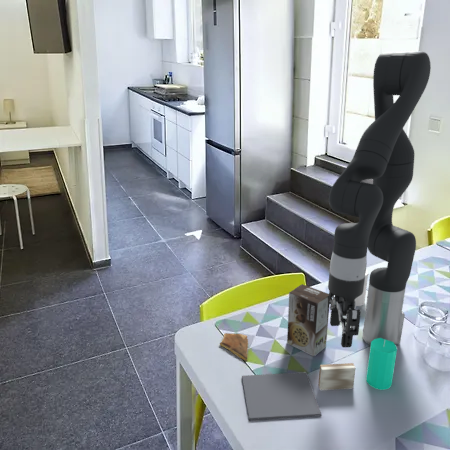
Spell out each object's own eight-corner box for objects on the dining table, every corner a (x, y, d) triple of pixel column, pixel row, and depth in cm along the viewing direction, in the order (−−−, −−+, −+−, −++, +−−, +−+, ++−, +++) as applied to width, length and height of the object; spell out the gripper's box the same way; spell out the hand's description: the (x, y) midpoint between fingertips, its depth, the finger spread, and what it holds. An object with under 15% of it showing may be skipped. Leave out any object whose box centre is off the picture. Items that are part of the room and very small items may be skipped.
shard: (247, 363, 120) (247, 357, 119) (217, 362, 121) (217, 356, 120) (248, 339, 130) (248, 333, 130) (220, 338, 131) (220, 332, 130)
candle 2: (388, 393, 109) (394, 350, 105) (362, 384, 112) (368, 342, 108) (394, 378, 114) (401, 337, 109) (369, 370, 117) (375, 329, 112)
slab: (350, 383, 112) (353, 363, 110) (353, 388, 111) (355, 367, 108) (318, 385, 112) (320, 364, 110) (320, 390, 110) (322, 369, 108)
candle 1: (348, 293, 153) (352, 252, 148) (367, 299, 149) (372, 257, 144) (340, 301, 148) (344, 259, 143) (360, 308, 145) (365, 264, 139)
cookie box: (327, 346, 126) (331, 294, 120) (313, 357, 122) (318, 303, 116) (299, 333, 132) (302, 283, 126) (285, 343, 127) (288, 291, 122)
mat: (306, 374, 115) (306, 372, 115) (321, 415, 102) (321, 413, 102) (242, 377, 114) (242, 375, 114) (249, 420, 101) (249, 418, 101)
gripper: (376, 286, 94) (367, 353, 100) (353, 257, 107) (346, 318, 113) (340, 287, 93) (333, 355, 99) (321, 258, 107) (316, 319, 112)
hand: (340, 335), depth 106 cm, fingers open, 8 cm apart
